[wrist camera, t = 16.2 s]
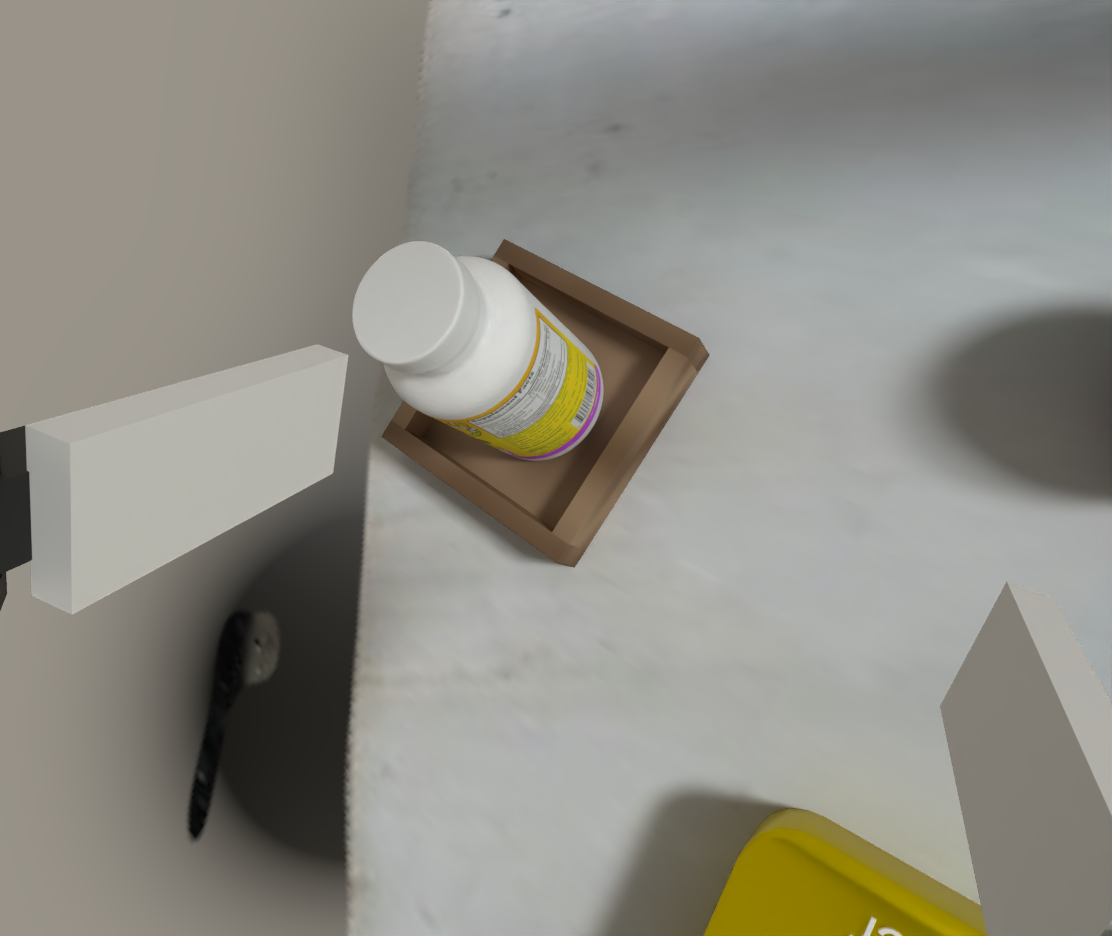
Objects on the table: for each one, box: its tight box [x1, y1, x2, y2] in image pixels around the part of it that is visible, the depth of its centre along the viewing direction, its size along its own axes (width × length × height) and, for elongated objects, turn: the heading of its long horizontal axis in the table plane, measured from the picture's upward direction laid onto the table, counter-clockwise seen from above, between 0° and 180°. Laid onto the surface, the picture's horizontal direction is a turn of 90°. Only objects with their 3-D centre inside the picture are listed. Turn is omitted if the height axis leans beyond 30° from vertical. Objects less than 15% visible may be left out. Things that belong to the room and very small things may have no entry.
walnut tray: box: [382, 239, 709, 567], centre depth 39 cm, size 12×12×2 cm
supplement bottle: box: [352, 241, 604, 461], centre depth 34 cm, size 7×7×13 cm
